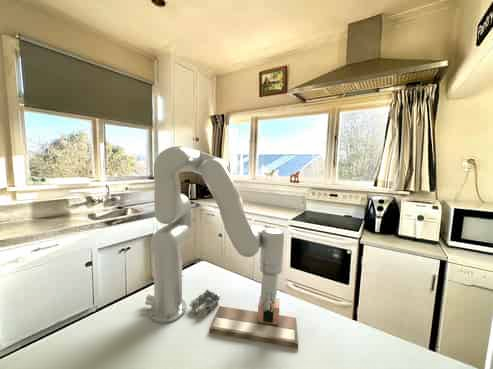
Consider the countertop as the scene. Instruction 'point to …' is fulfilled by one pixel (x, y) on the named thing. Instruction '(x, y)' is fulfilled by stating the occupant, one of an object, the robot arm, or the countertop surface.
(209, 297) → the egg carton
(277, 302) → the peach rectangular block
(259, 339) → the board
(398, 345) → the countertop surface
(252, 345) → the countertop surface
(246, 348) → the countertop surface
